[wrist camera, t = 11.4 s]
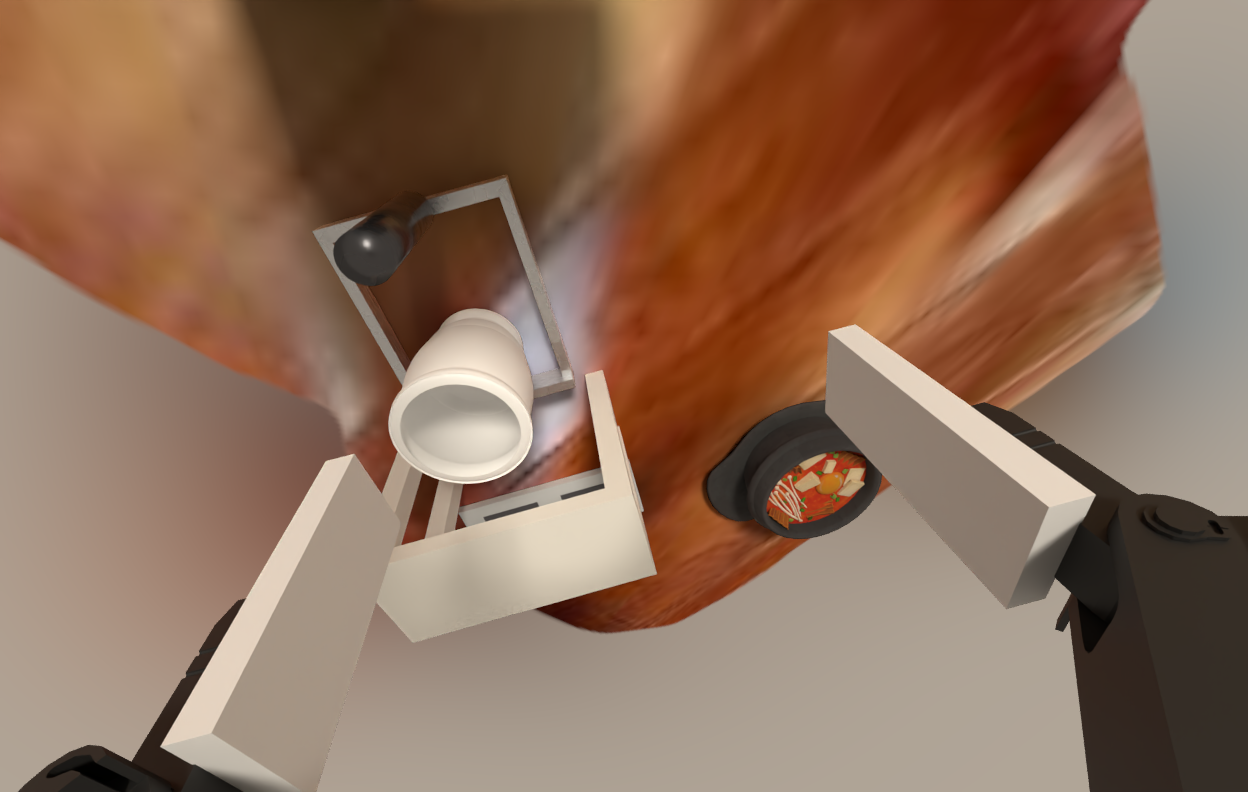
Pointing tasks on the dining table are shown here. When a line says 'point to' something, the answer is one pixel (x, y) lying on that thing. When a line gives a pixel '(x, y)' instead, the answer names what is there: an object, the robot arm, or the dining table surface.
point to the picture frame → (389, 234)
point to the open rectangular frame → (517, 541)
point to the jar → (466, 401)
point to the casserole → (795, 475)
